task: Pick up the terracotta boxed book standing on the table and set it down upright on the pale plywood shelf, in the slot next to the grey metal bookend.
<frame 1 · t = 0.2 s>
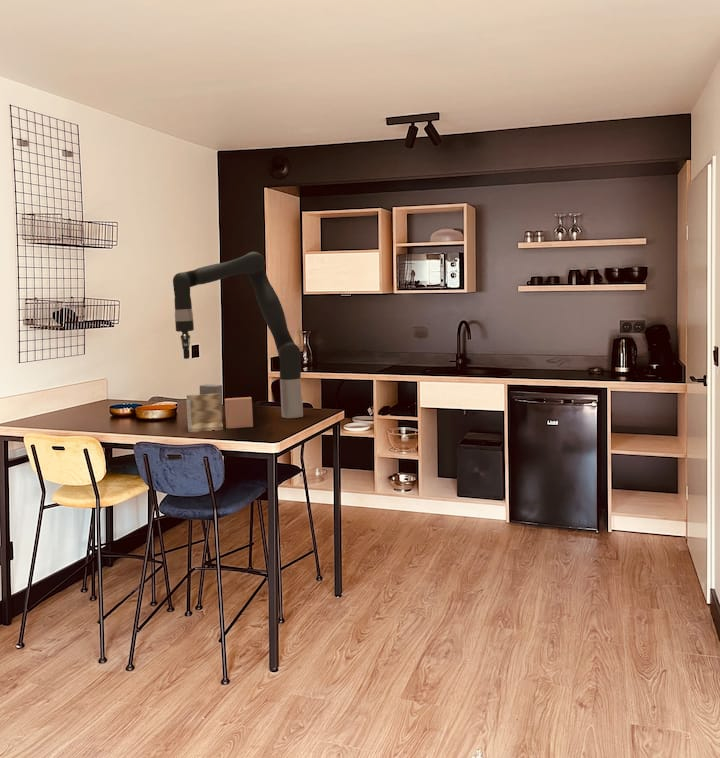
hand: (186, 357, 319), 29 cm above the table, fingers open, 8 cm apart
plywood shelf: (205, 428, 311), on the table
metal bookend: (190, 429, 309), resting on plywood shelf
skincare box: (212, 420, 331), on the table
terracotta book: (239, 426, 313), on the table
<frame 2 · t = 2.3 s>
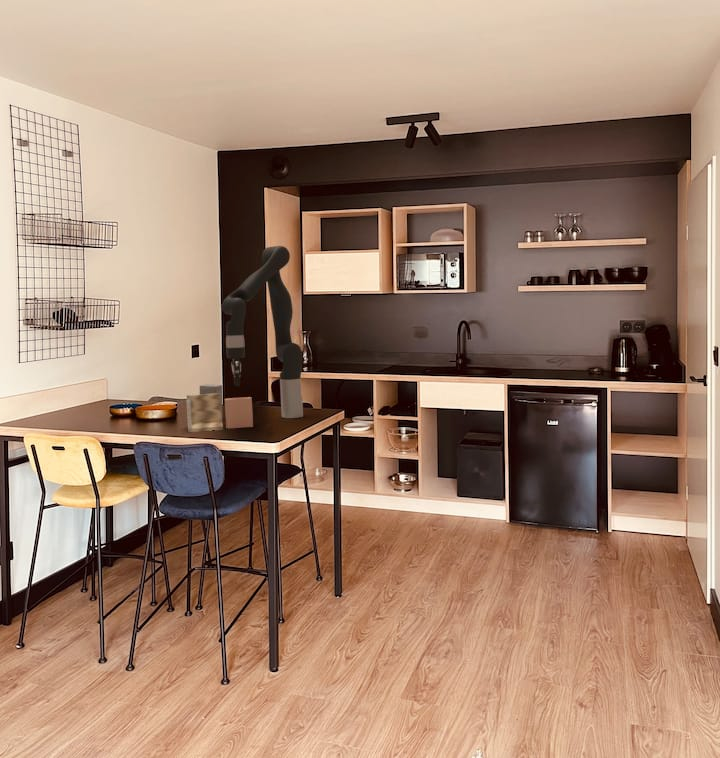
hand: (237, 384, 310), 18 cm above the table, fingers open, 8 cm apart
nothing on the table moved.
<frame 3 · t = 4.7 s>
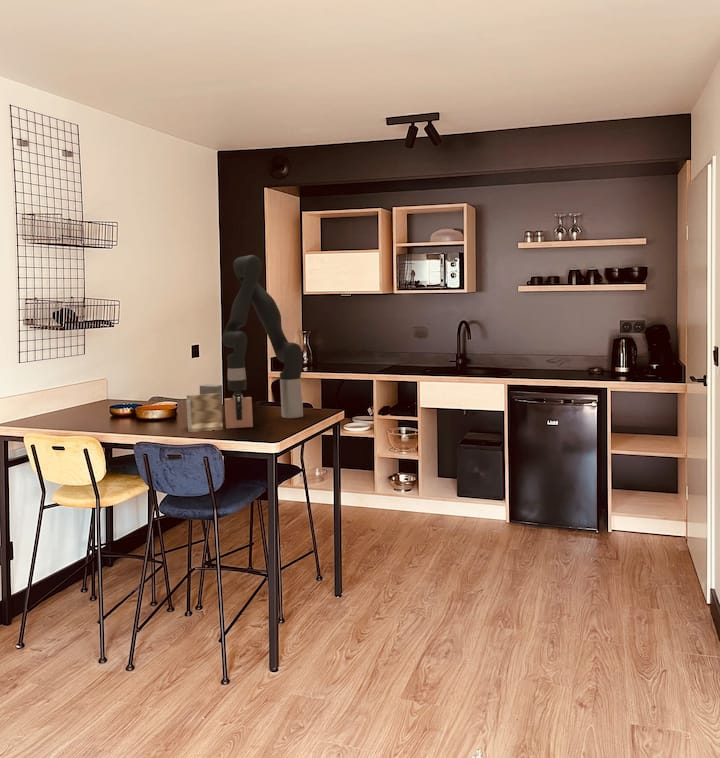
hand: (239, 418, 312), 3 cm above the table, fingers closed on terracotta book, 4 cm apart
terracotta book: (239, 426, 312), on the table, touching gripper
everything else where it was.
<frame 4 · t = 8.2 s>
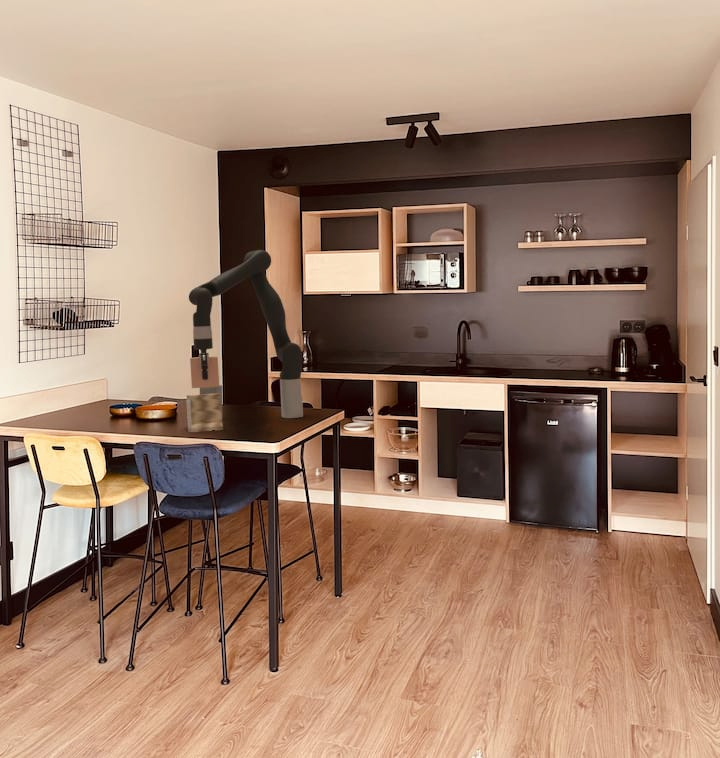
hand: (205, 378, 306), 21 cm above the table, fingers closed on terracotta book, 4 cm apart
terracotta book: (205, 386, 306), point 18 cm above the table, touching gripper
everything else where it was.
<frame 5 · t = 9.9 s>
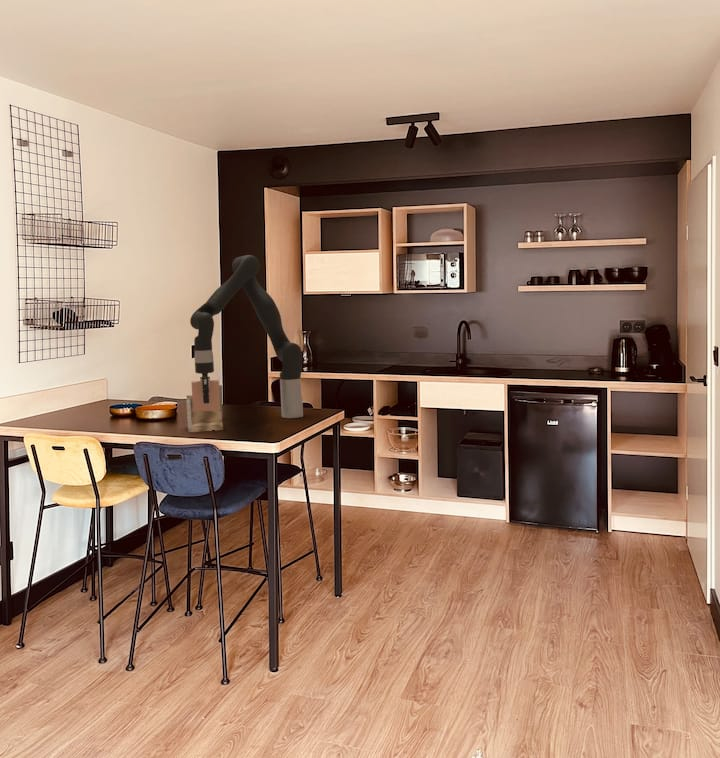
hand: (206, 402, 307), 11 cm above the table, fingers closed on terracotta book, 4 cm apart
terracotta book: (206, 410, 307), point 8 cm above the table, touching gripper
everything else where it was.
when the fingers open (7 cm above the table, at t = 11.7 s): terracotta book drops 2 cm, resting on plywood shelf.
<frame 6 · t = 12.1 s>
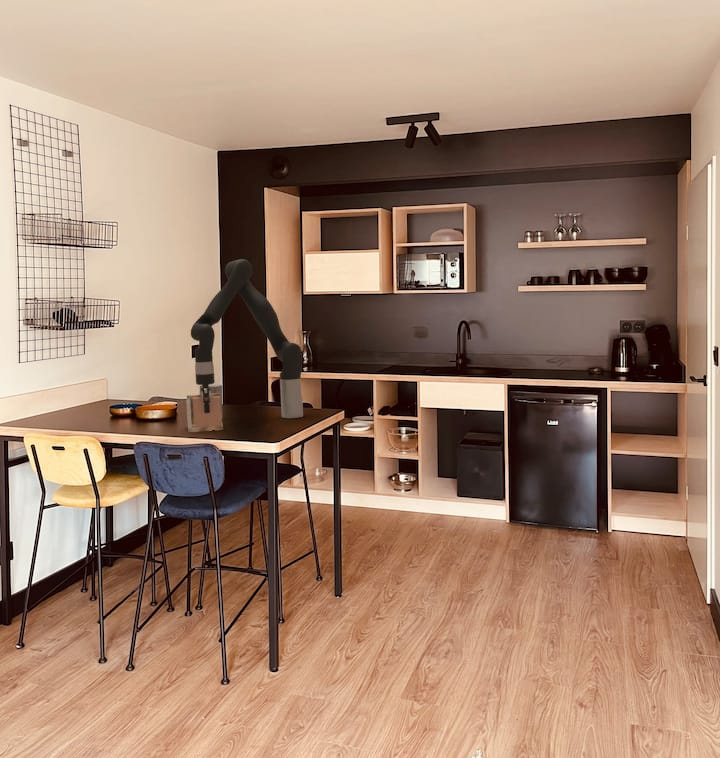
hand: (207, 411, 307), 8 cm above the table, fingers open, 8 cm apart
terracotta book: (208, 425, 308), point 1 cm above the table, touching plywood shelf
everything else where it was.
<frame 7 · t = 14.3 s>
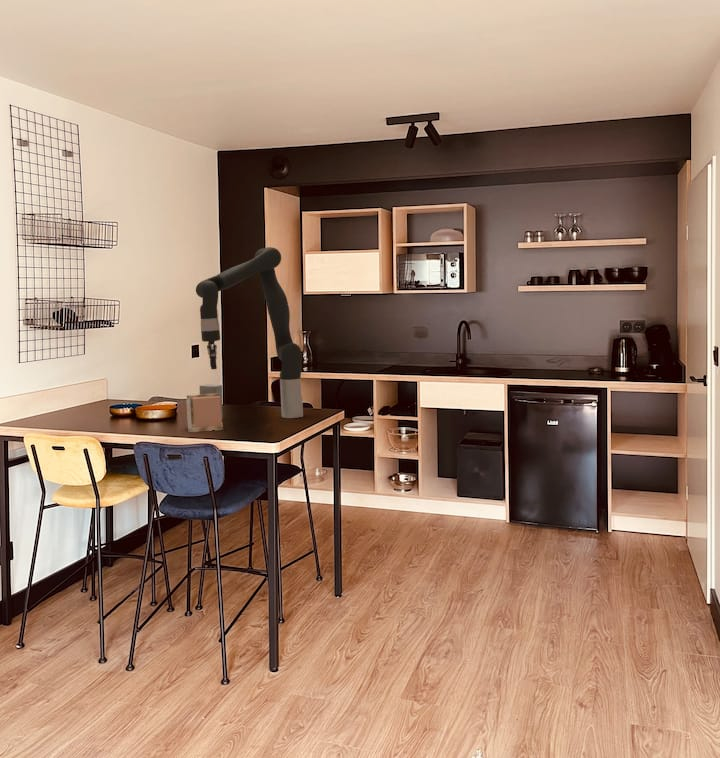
hand: (213, 368, 310), 25 cm above the table, fingers open, 8 cm apart
nothing on the table moved.
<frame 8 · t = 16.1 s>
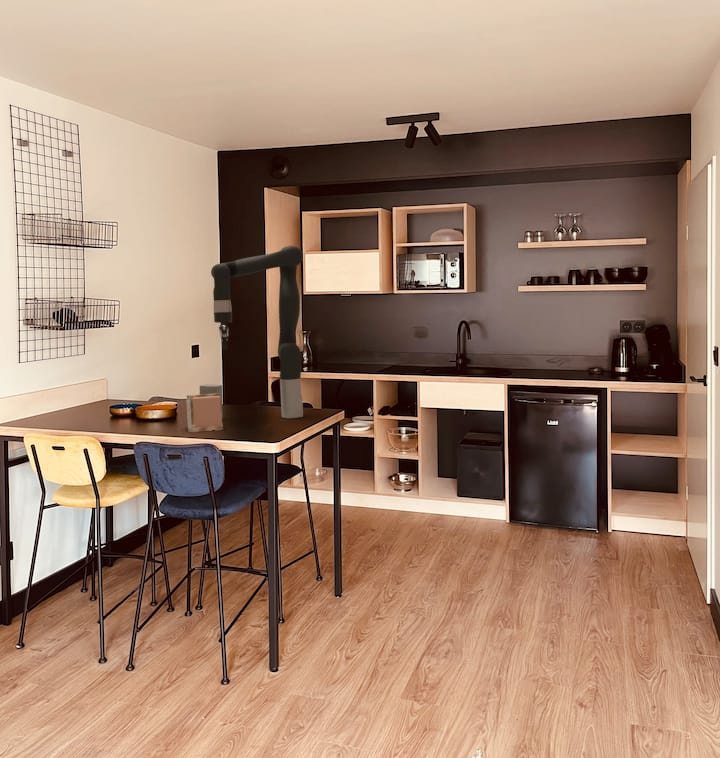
hand: (224, 349, 318), 32 cm above the table, fingers open, 8 cm apart
nothing on the table moved.
at the end: terracotta book 0.0 cm from the target spot, point 1.5 cm above the table; terracotta book tilted 0°; the gripper is holding nothing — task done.
